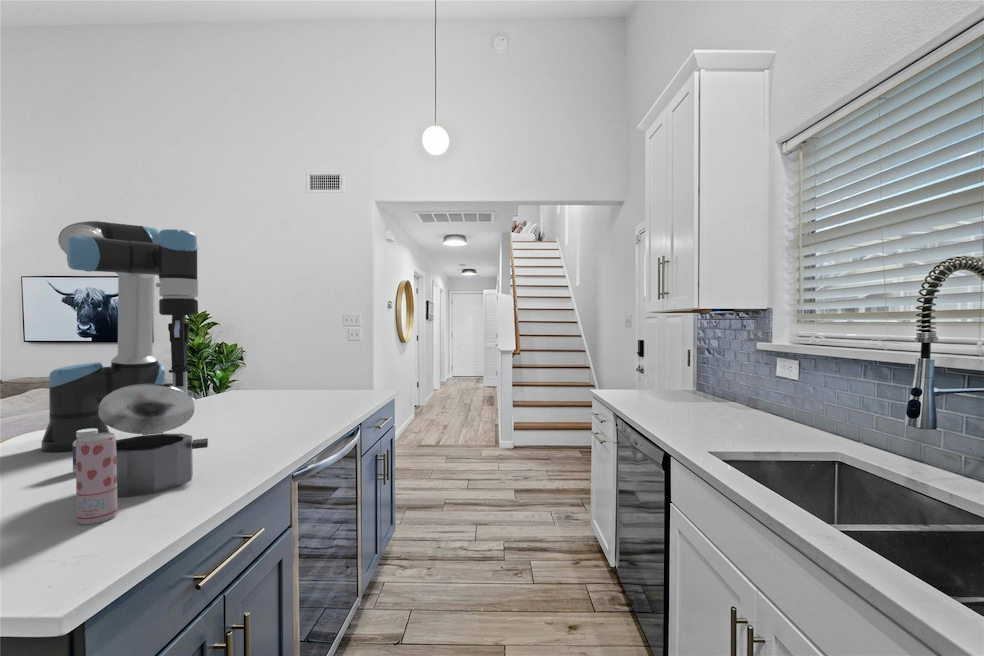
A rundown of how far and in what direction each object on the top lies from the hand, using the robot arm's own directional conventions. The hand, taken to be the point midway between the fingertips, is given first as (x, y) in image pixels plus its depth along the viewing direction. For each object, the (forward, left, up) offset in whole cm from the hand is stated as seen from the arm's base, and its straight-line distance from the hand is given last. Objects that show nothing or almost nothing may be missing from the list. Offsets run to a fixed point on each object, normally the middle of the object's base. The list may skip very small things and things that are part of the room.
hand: (180, 400), depth 111 cm
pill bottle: (-15, -20, -18) cm, 31 cm away
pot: (+3, -6, -17) cm, 19 cm away
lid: (0, -6, -2) cm, 6 cm away
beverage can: (+22, -11, -18) cm, 30 cm away
